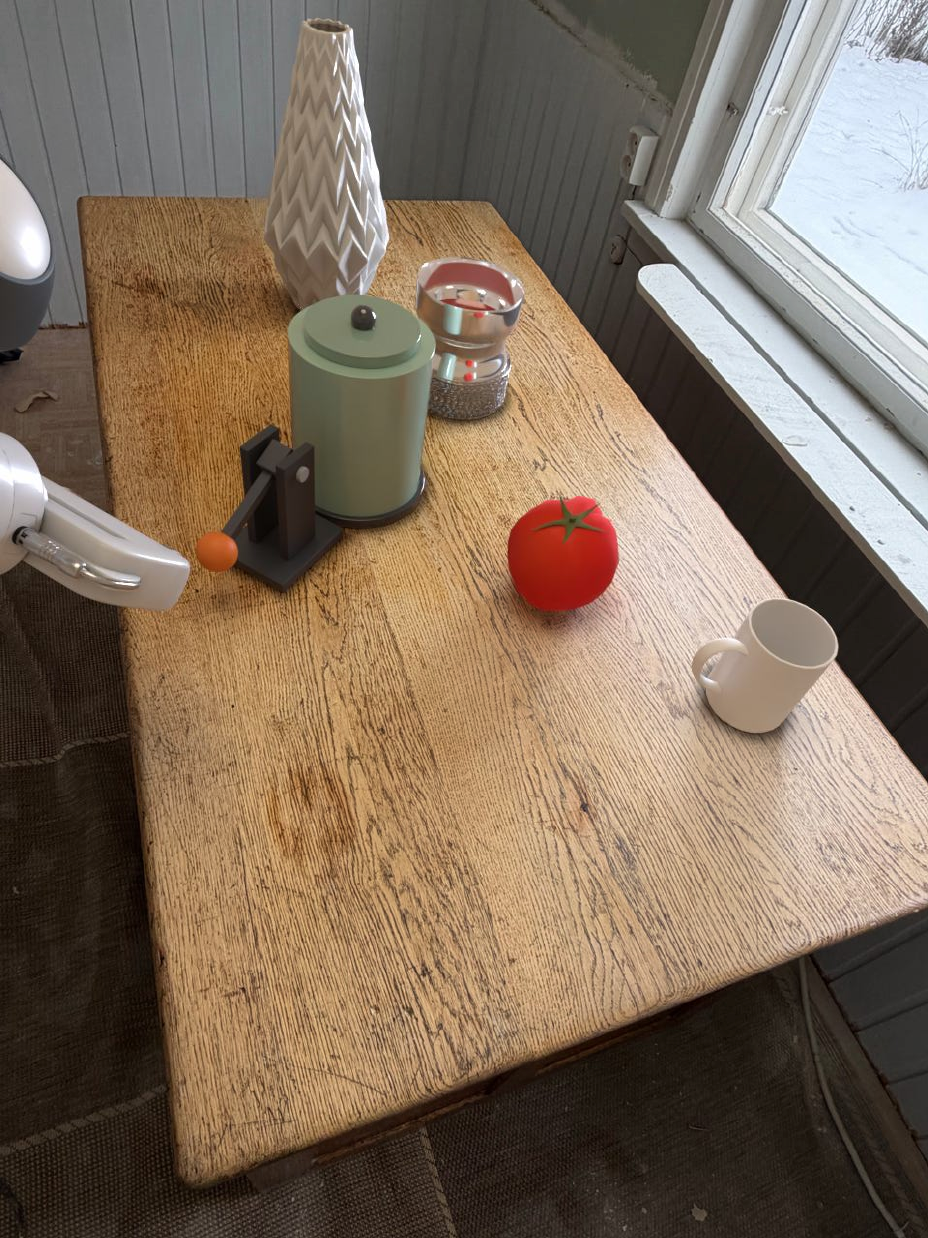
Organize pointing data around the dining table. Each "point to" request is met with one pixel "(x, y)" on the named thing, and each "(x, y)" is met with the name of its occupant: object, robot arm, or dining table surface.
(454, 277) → the silver candle holder
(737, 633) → the mug
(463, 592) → the dining table surface
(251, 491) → the switch
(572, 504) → the tomato
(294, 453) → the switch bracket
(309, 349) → the green canister
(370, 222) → the vase
